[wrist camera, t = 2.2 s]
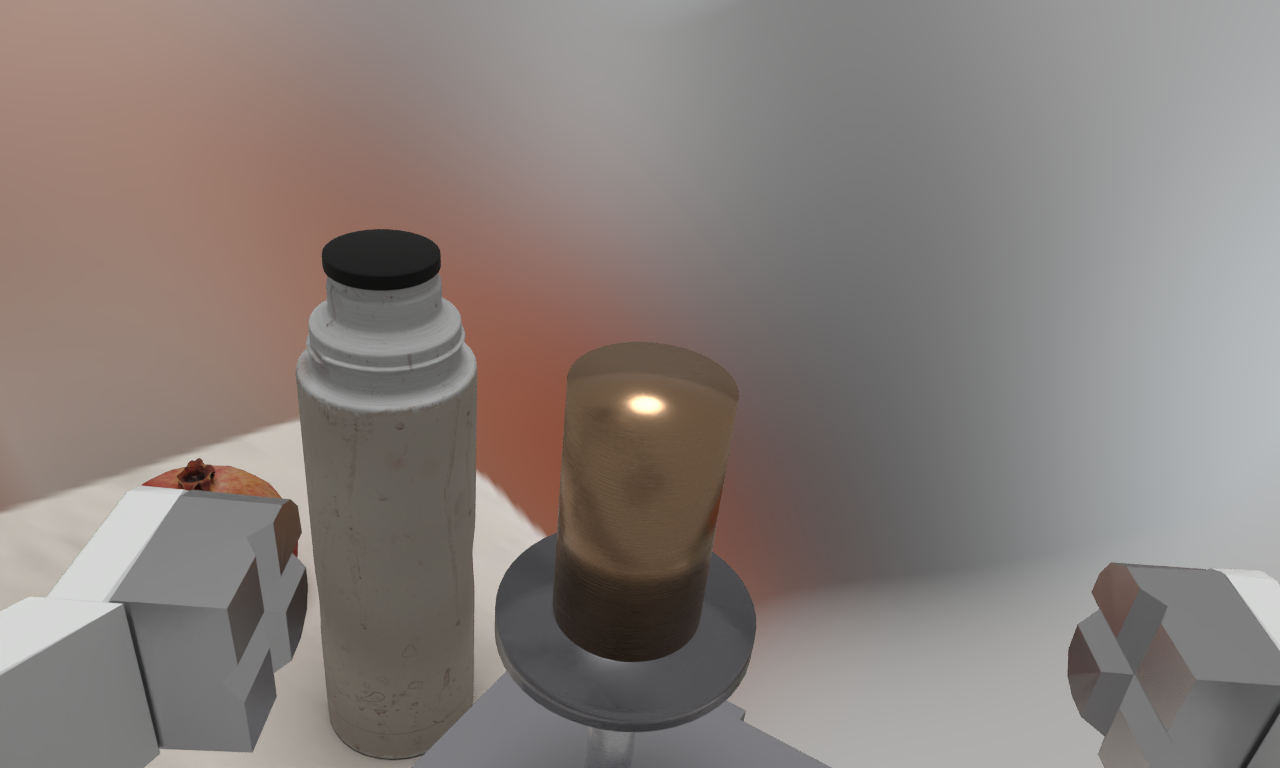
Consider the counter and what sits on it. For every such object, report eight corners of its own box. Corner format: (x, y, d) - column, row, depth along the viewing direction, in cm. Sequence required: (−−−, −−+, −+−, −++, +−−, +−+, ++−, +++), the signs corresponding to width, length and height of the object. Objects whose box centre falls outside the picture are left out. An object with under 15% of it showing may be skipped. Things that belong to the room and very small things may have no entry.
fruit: (105, 583, 62) (73, 452, 57) (264, 529, 68) (248, 406, 63) (155, 695, 55) (124, 558, 50) (328, 625, 61) (316, 495, 56)
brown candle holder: (648, 1111, 27) (755, 595, 17) (374, 910, 31) (336, 399, 21) (793, 836, 35) (924, 370, 25) (558, 703, 39) (591, 257, 29)
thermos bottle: (446, 633, 61) (443, 204, 47) (493, 730, 55) (506, 273, 41) (314, 672, 57) (266, 220, 43) (349, 780, 52) (307, 299, 37)
